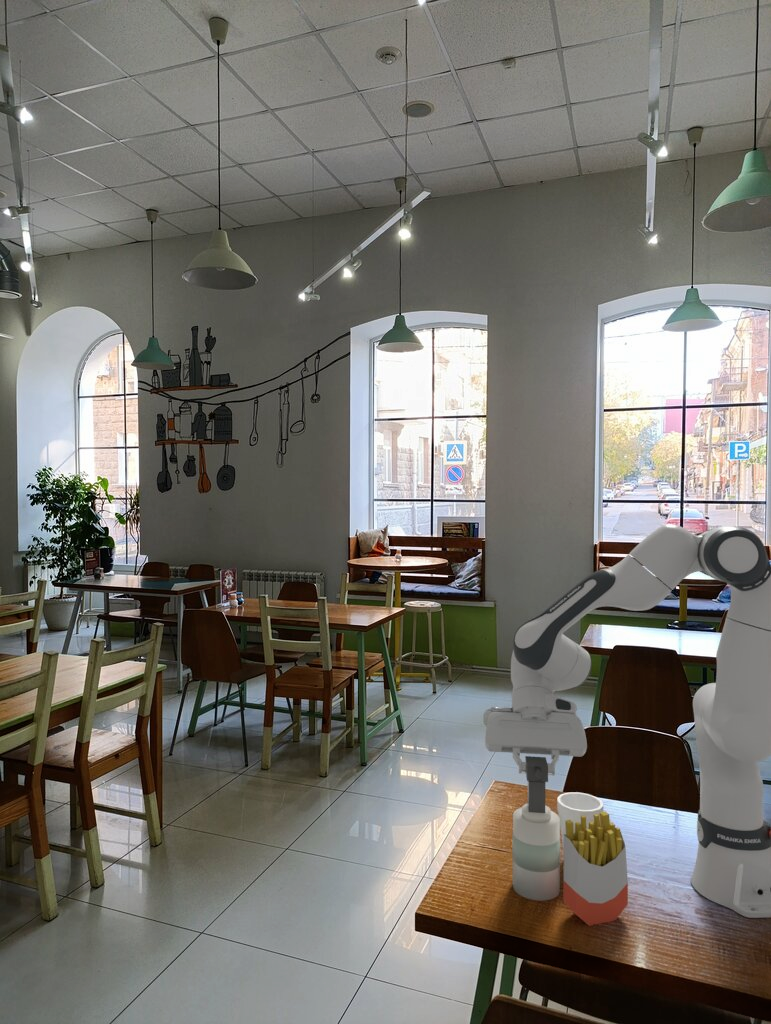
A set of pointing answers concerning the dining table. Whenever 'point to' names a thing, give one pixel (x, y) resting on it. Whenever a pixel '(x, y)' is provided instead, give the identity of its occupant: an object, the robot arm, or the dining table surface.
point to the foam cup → (577, 809)
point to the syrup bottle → (536, 847)
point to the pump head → (536, 769)
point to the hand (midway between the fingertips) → (536, 773)
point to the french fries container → (595, 870)
